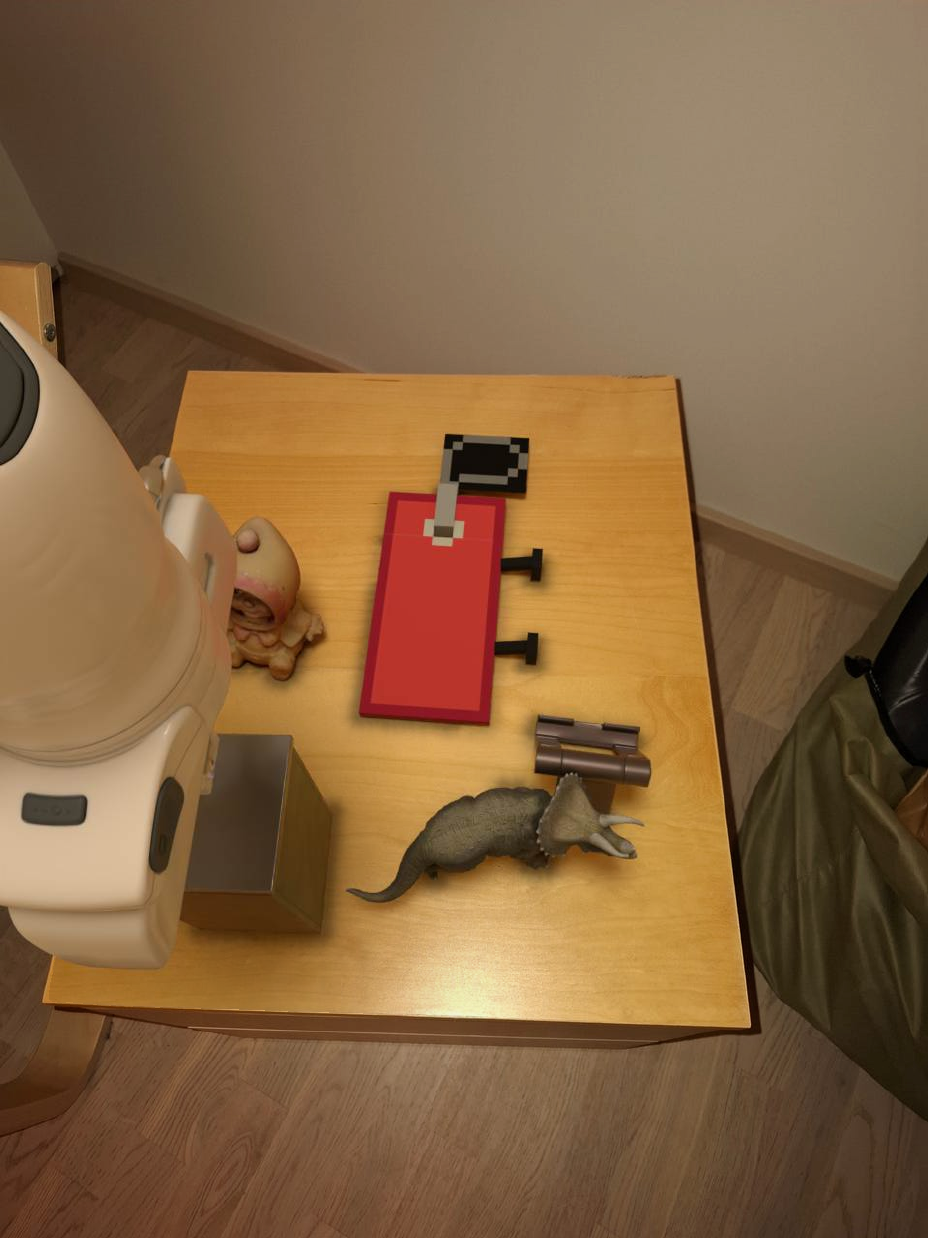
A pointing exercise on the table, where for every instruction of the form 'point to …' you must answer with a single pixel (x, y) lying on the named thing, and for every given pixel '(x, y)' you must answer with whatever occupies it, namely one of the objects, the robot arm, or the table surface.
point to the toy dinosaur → (507, 833)
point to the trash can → (279, 873)
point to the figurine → (267, 601)
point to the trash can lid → (242, 817)
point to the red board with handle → (446, 589)
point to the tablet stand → (591, 756)
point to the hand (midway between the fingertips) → (199, 767)
